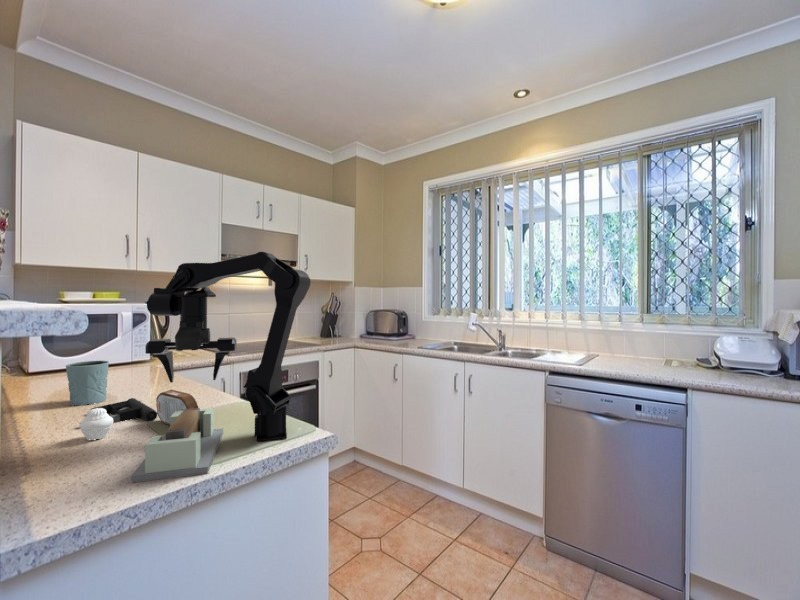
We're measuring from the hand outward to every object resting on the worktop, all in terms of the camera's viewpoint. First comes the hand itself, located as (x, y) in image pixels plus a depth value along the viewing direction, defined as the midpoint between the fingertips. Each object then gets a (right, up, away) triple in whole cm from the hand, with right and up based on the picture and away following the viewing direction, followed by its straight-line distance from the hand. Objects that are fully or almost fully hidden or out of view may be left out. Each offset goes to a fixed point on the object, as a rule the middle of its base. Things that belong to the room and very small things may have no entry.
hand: (193, 381), depth 93 cm
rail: (+6, -11, -14) cm, 18 cm away
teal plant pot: (-46, -12, +25) cm, 54 cm away
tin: (-7, -12, +4) cm, 15 cm away
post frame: (+6, -12, -14) cm, 19 cm away
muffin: (-19, -12, -5) cm, 23 cm away
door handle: (-26, -13, +10) cm, 31 cm away
